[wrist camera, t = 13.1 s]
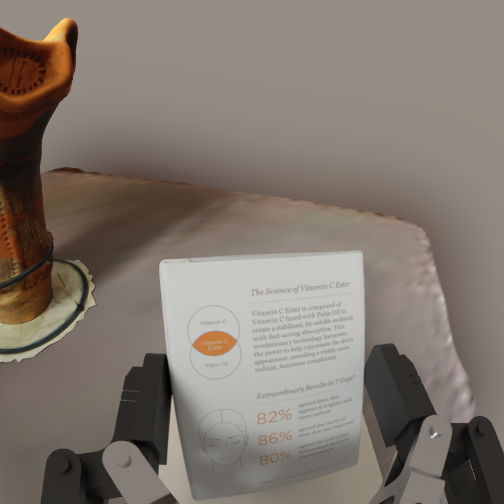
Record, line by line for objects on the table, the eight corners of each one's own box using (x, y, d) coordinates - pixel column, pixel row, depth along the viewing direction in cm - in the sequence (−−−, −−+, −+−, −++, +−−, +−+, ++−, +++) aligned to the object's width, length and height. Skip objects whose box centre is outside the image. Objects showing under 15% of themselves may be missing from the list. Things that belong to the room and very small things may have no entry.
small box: (314, 423, 17) (311, 252, 18) (359, 467, 12) (367, 247, 12) (182, 442, 16) (163, 259, 16) (190, 503, 10) (157, 256, 10)
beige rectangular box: (141, 563, 10) (129, 562, 9) (153, 408, 20) (145, 390, 19) (381, 545, 11) (399, 540, 10) (343, 401, 21) (352, 382, 20)
